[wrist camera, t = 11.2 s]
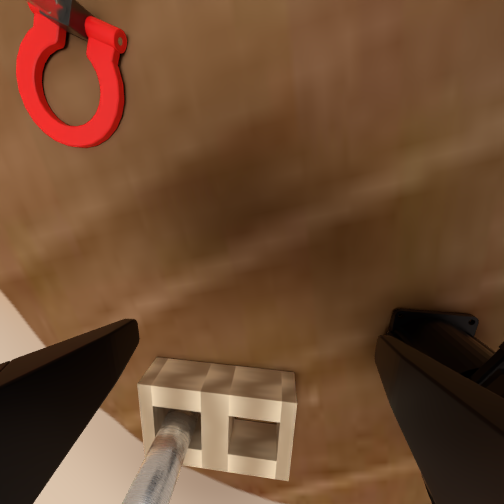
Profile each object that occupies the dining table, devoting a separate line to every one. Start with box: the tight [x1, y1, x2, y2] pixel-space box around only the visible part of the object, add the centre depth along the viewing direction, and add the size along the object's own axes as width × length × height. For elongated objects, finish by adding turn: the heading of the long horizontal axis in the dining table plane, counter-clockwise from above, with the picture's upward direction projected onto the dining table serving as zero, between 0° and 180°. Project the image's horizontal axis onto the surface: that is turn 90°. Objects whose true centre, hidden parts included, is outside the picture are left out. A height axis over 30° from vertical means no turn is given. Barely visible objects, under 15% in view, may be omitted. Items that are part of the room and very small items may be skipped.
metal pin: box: [122, 408, 201, 504], centre depth 20 cm, size 3×3×10 cm
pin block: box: [137, 357, 297, 481], centre depth 23 cm, size 14×9×4 cm, turn 88°
